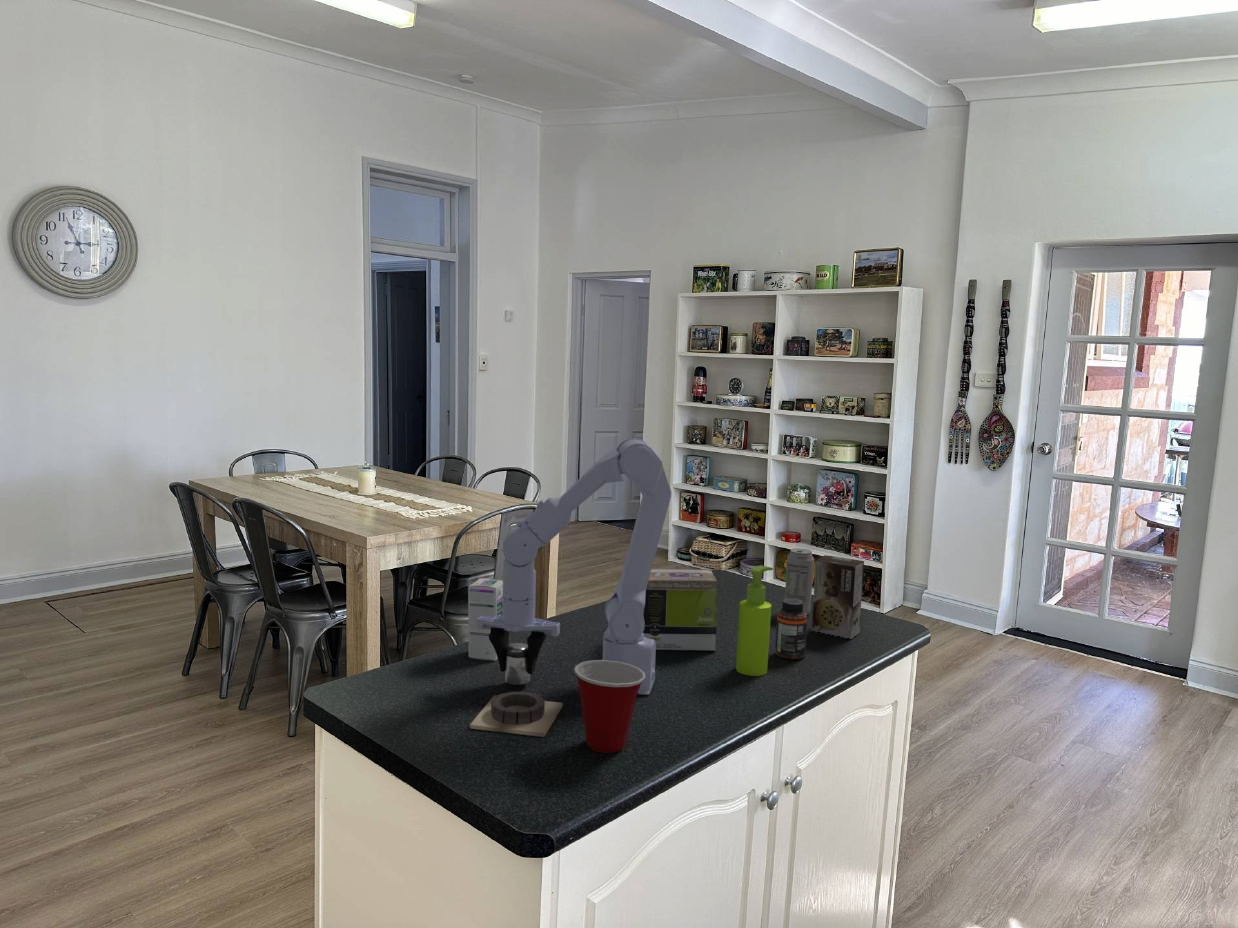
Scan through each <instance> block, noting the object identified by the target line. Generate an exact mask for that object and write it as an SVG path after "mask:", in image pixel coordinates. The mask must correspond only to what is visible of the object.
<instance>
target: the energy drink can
mask: <svg viewBox="0 0 1238 928" xmlns="http://www.w3.org/2000/svg"><path fill="white" fill-rule="evenodd" d="M814 560H815V557H813V554H812V551H811V550H810V549H806V548H791V549H790V552H789V554H787V558H786V570H785V571H786V572H785V589H784V599H788V598H792V599H798V600H801V601H803V611H804V612H805V613H806V614H807V615H808V616H809V614H810V613H811V608H812V607H811V606H812V591H813V581H814V580H813V577H814V566H815V565H814V564H815V561H814Z"/></svg>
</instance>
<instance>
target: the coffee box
mask: <svg viewBox="0 0 1238 928" xmlns="http://www.w3.org/2000/svg"><path fill="white" fill-rule="evenodd" d="M814 564H815V565H814V584H813V585H814V587H813V602H812V604H813V605H812V616H811V617H812V618H811V630H812V631H815V632H814V633H817V632H822V633H825V634H824V635H827V634H831V635H830V636H832V635H834V636H833V637H837V636H840V637H839V638H842V637H843V639H847V638H849V639H848V640H852V639H853V638H855V637H854V636H858V635H859V634H860V629H861V613H862V611H861V610H862V599H863V598H862V597H863V583H864V581H863V580H864V567H865V566H864V565H865V561H864V560H859V559H852V558H847V557H840V556H834V555H833V556H832V555H826V554H825V555H822V556H821V557H819V558H818V559H817V560H815V561H814ZM812 631H811V632H812ZM822 633H821V634H822Z"/></svg>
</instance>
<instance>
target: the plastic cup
mask: <svg viewBox="0 0 1238 928" xmlns="http://www.w3.org/2000/svg"><path fill="white" fill-rule="evenodd" d="M574 674H575V675H576V678H577V684H578V691H579V696H580V703H581V712H582V721H583V726H584V732H585V739H586V742H587V746H588V747H589V749H591V750H593V751H594V752H597V753H602V754H612V753H618V752H620V751H622V749H624V748H625V746H626V743H627V738H628V732H629V730H630V729H629V728H630V727H631V723H632V718H633V713H634V709H635V704H636V701H637V697H638V695H639V694H638V690H639V689H640V685H641V683H642V682H643V681H644V680H645V673H644V672H643V671H642V670H641V669H639V668H637V667H635V666H632V665H630V664H626V663H622V662H617V661H608V660H603V659H598V660H597V659H595V660H592V659H591V660H587V661H586V660H585V661H582V662H579V663H578V664H577V665H575V666H574Z"/></svg>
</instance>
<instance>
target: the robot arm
mask: <svg viewBox="0 0 1238 928" xmlns="http://www.w3.org/2000/svg"><path fill="white" fill-rule="evenodd" d="M622 475H624V476H626V478H628V479H629V480H630V481H632V482H633V483H634V485H635V486H636V488H637V489H638V491H639V493H640V494H641V500H640V504H639V508H638V511H637V516H636V519H635V523H634V527H633V530H632V533H631V538H630V542H629V545H628V549H627V553H626V557H625V560H624V563H623V568H622V571H621V575H620V579H619V580H618V582H617V584H616V586H615V590H614V592H613V594H612V595H611V596H610V598H609V599H608V600H607V602H606V604H605V606H604V615H605V618H606V620H607V623H608V626H607V627H606V629H605V631H603V639H602V640H603V641H602V660H608V661H617V662H622V663H626V664H630V665H632V666H635V667H637V668H639V669H641V670H642V671H643V672H644V673H645V680H644V681H643V682H642V683H641V685H640V689H639V690H638V694H637V695H643V696H644V695H645V696H649V695H650V693H651V691H652V688H653V686H654V682H655V679H656V670H655V669H656V653H657V652H656V651H657V650H656V642H655V640H653V639H649V638H646V637H644V634H643V631H644V627H645V621H644V617H643V611H644V607H645V595H646V587H647V583H648V580H649V576H650V572H651V569H653V565H654V560H655V557H656V553H657V550H658V546H659V543H660V540H661V536H662V535H661V534H662V531H663V528H664V525H665V520H666V517H667V513H668V509H669V506H670V503H671V498H672V490H671V486H670V484H669V480H668V478H667V474H666V471H665V469H664V466H663V461H662V459H660V457H659V456H658V455H657V453H656V452H655V451H654V449H652V448H651V447H650V446H649V445H648V444H647V443H646V442H645V441H644V440H642V439H641V438H638V437H629V438H627V439H623V440H622V441H621V442H620V443H619V444H618V446H617V448H616V447H614V448H612V449H611V450H609V451H607V453H606V454H604V455H603V456H602V457H601V458H599V459H598V460H597V461H596V462H595V463H594V464H593V465H592V466H591V467H590V468H589V469H588V470H587V471H586V472H585V473H584V474H583V475H582V476H581V477H580V478H579V479H577V480H576V482H574V484H573V485H571V487H569V488H568V489H567V490H566V491H565V492H564V493H562V495H561V496H560V497H548V498H547V499H546V500H545V501H544V500H543V499H541V500H539V501H538V502H537V503H536V507H537V508H536V509H534V510H533V511H532V512H531V513H530V514H529V515H528V516H527V517H526V518H525V519H523V520H521V519H519V521H517V522H516V526H517V527H513V528H512V529H510V530H508V531H507V533H506V534H505V536H504V539H503V542H502V552H503V555H504V560H503V568H504V569H503V571H502V580H503V607H502V616H480V617H479V618H478V619H477V629H479V630H483V629H491V631H490V634H489V640H490V642H491V643H492V645H493V647H494V649H495V652H496V654H497V657H498V658H497V660H498V664H499V669H500V672H502V673H503V672H504V673H505V647H506V646H507V645H509V639H510V632H513V633H517V632H518V633H529V634H530V635H529V636H528V637H527V639H526V644H527V645H528V674H530V675H533V674H534V672H535V670H536V665H537V661H538V657H539V654H540V651H541V649H542V646H543V644H544V642H545V640H546V638H547V636H548V635H550V636H551V637H554V638H555V637H558V636H559V635H560V632H561V631H560V630H561V623H560V622H555V621H550V620H545V619H541V618H536V588H537V587H536V586H537V585H536V583H537V582H536V579H537V571H536V569H535V560H536V557H537V555H538V550H539V548H542V547H545V546H546V545H547V544H548V543H549V542H551V541H552V540H553V539H554V538H555V537H556V536H557V535H558V534H560V532H562V531H563V530H564V529H565V528H566V527H568V525H570V523H572V512H573V511H574V510H575V509H577V508H578V507H579V506H580V505H582V504H583V503H584V502H585V501H587V500H588V499H589V498H590V497H591V496H593V495H594V494H595V493H596V492H597V491H599V490H600V489H601V488H602V487H603V486H605V485H606V484H611V483H618V482H620V483H621V482H623V481H624V478H623V477H622Z"/></svg>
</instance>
